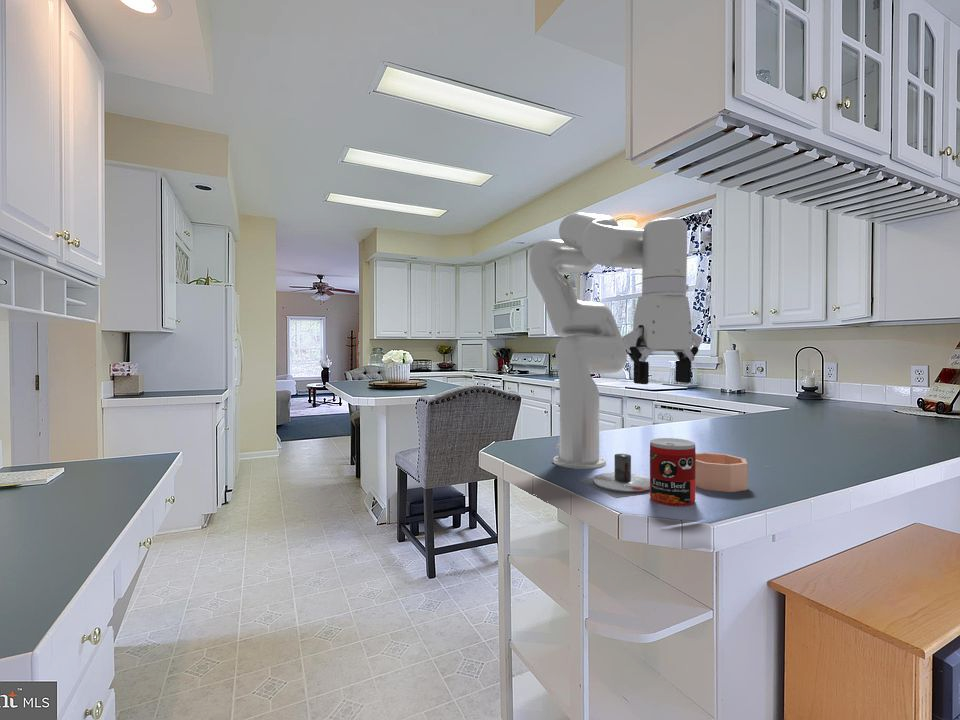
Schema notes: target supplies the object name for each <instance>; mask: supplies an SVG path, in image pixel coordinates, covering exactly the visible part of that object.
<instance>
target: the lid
mask: <svg viewBox="0 0 960 720" xmlns="http://www.w3.org/2000/svg"><path fill="white" fill-rule="evenodd" d="M592 478H593V484H594V485H595V486H596V487H598V488H600V489H603V490H607V491H612V492H618V493H644V492H648V491H650V477H647V476H643V475H640V474H635V473H634V474H633V473H632V455H631V454H627V453H615V454H614V472H604V473H599V474H596V475H594V476H593V477H592Z"/></svg>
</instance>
